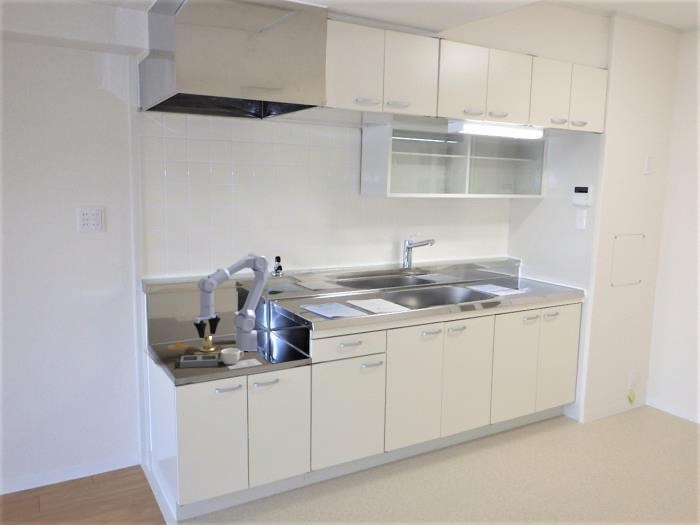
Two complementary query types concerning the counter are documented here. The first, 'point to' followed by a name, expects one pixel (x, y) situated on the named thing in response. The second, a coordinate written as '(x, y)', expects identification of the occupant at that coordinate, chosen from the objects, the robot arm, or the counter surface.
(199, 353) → the socket block
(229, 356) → the teacup
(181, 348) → the latch bar
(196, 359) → the rack
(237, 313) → the syrup box
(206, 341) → the brass peg
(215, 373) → the counter surface
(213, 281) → the robot arm
